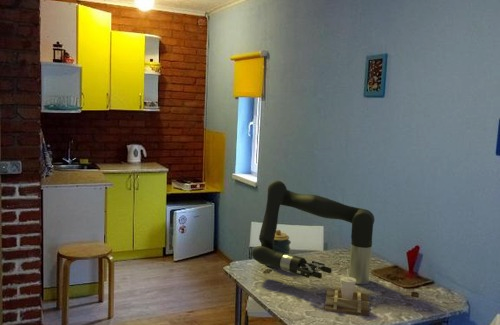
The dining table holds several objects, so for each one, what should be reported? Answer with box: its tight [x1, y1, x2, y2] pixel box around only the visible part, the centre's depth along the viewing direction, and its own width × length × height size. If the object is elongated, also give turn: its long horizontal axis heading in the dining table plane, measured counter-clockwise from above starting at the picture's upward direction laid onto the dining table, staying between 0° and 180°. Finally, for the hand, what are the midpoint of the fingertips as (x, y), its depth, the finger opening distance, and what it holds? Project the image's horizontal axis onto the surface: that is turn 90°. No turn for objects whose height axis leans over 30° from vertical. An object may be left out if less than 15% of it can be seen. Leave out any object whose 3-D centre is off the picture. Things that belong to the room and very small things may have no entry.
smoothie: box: [339, 268, 357, 299], centre depth 194 cm, size 6×6×14 cm
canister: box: [265, 229, 291, 269], centre depth 239 cm, size 13×13×18 cm
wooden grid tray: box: [324, 285, 371, 317], centre depth 195 cm, size 17×17×4 cm
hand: (326, 273), depth 200 cm, fingers open, 8 cm apart
